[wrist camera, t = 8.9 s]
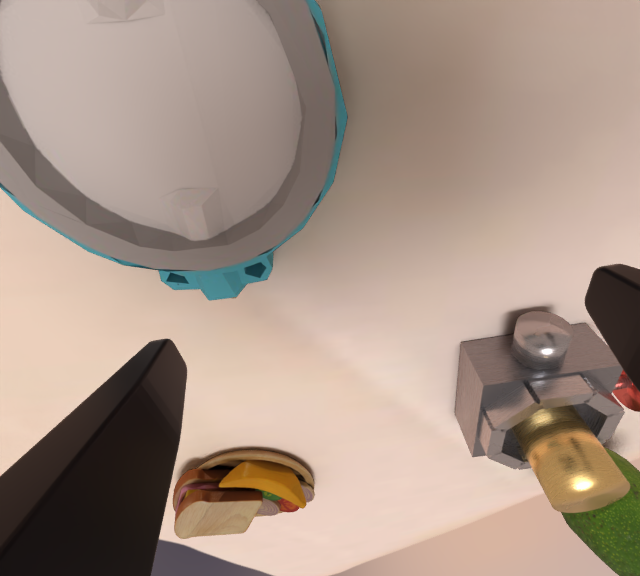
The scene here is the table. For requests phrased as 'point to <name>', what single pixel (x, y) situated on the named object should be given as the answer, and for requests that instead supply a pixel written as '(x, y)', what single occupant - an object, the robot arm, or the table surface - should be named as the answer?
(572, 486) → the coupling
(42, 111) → the butterfly valve
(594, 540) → the avocado
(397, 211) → the table surface
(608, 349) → the valve
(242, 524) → the toy sandwich meal
